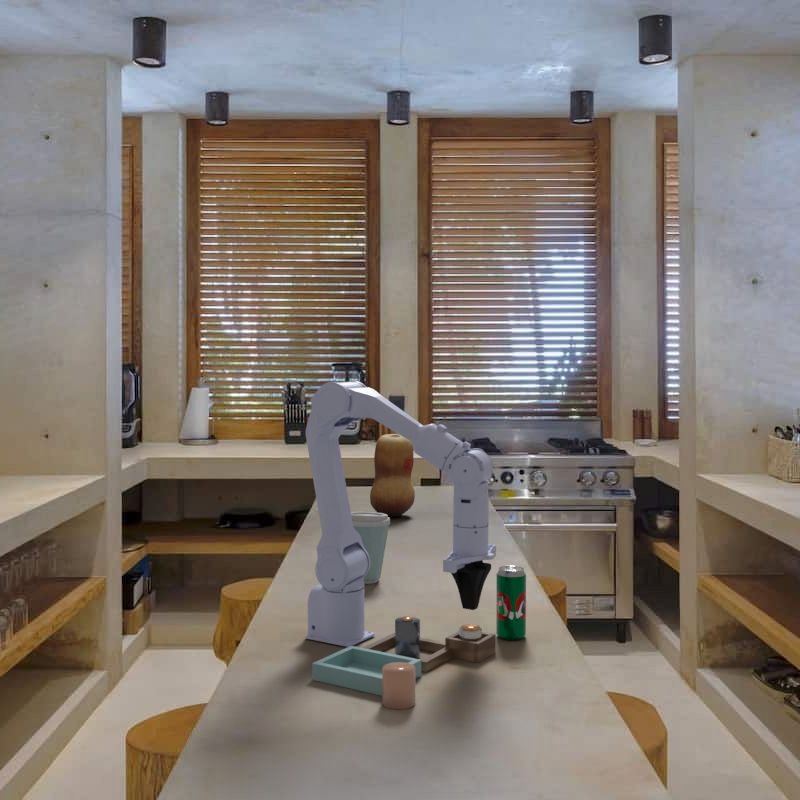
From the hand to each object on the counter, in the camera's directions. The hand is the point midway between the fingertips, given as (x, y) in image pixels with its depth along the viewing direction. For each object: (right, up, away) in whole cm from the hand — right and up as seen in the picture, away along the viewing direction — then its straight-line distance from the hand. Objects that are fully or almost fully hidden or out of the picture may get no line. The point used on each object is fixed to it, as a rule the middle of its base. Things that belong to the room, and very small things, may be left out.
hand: (470, 608), depth 150 cm
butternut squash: (-13, -2, +131) cm, 132 cm away
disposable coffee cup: (-19, -6, +50) cm, 54 cm away
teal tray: (-16, -8, -11) cm, 21 cm away
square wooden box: (0, -8, 0) cm, 8 cm away
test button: (0, -6, 0) cm, 6 cm away
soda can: (+8, -7, +10) cm, 14 cm away
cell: (-10, -8, -1) cm, 13 cm away
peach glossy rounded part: (-11, -9, -21) cm, 25 cm away
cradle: (-10, -8, -1) cm, 13 cm away
